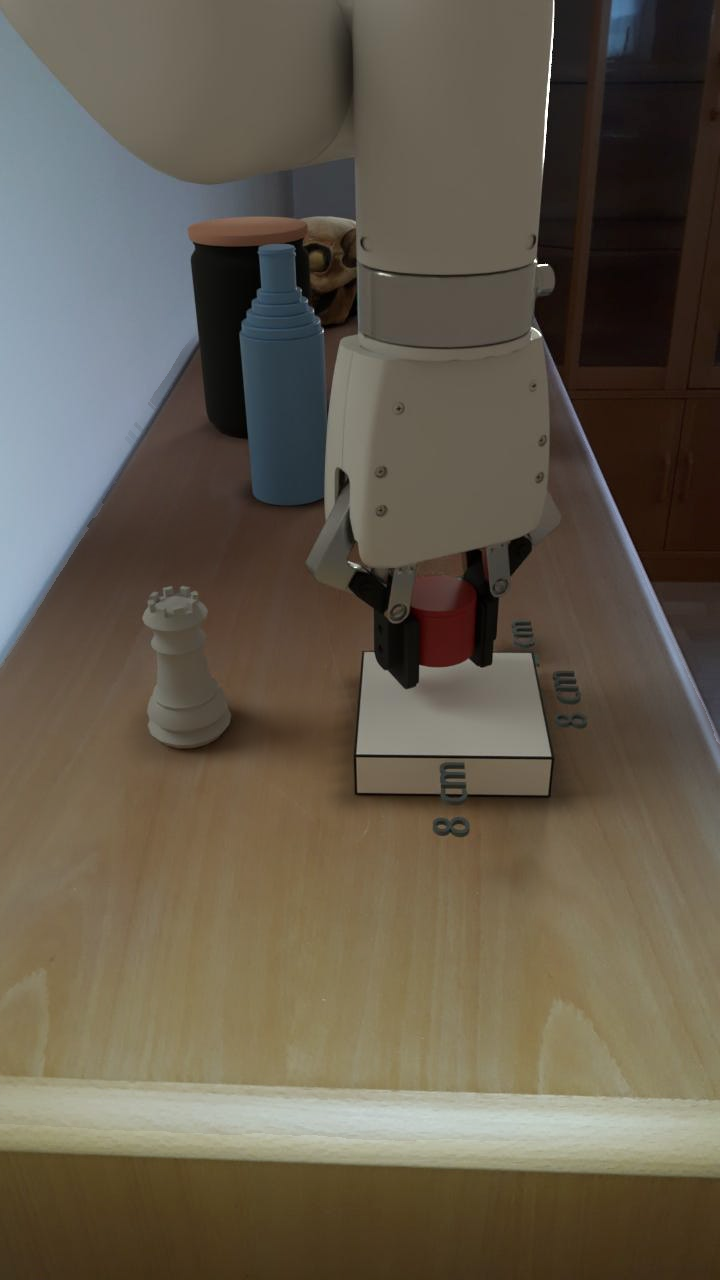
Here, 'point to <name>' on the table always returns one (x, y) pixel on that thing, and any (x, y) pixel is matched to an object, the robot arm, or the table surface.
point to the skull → (332, 267)
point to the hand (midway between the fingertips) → (435, 661)
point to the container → (459, 730)
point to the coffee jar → (234, 302)
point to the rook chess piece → (183, 673)
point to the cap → (444, 619)
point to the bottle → (284, 385)
